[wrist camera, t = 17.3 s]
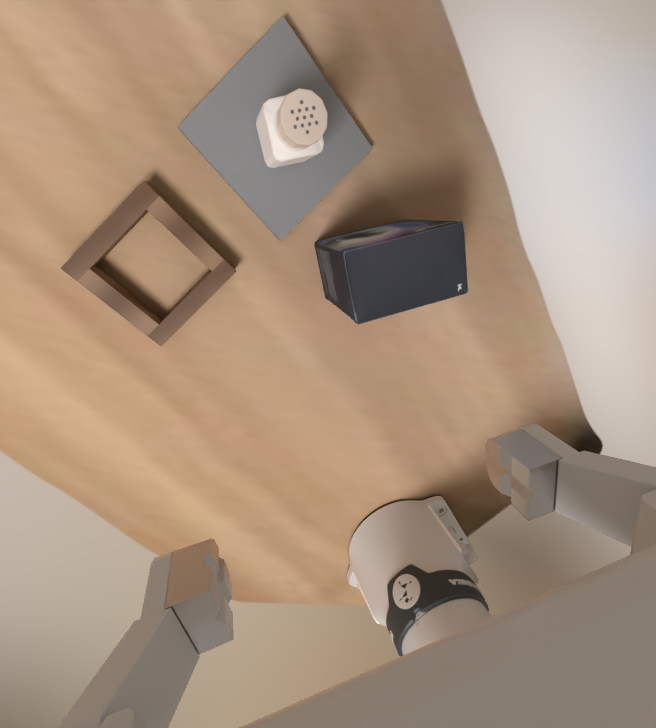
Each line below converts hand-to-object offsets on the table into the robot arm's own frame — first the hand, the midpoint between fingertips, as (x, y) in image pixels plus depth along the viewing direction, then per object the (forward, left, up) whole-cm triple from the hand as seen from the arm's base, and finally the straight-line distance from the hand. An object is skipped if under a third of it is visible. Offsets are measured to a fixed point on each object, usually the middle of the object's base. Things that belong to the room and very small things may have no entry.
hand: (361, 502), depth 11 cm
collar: (+8, +5, -31) cm, 32 cm away
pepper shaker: (+8, -11, -30) cm, 33 cm away
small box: (-6, -11, -31) cm, 33 cm away
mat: (+8, -11, -31) cm, 34 cm away
